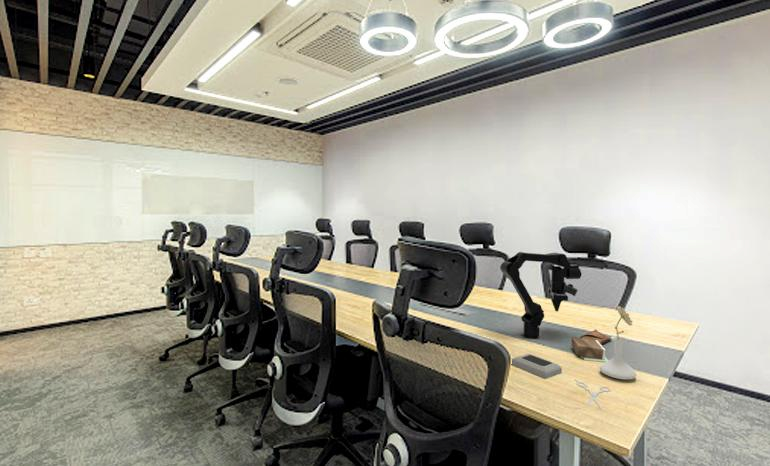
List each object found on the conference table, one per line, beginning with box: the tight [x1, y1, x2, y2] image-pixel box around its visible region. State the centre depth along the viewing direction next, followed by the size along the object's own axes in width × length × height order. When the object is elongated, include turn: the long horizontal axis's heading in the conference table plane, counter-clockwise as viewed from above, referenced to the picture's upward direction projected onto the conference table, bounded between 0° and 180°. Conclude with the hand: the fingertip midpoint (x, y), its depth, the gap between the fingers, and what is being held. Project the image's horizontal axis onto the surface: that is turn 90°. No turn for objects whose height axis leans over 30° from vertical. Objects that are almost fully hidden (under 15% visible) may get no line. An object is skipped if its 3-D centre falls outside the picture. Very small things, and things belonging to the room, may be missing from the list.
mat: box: [579, 356, 609, 363], centre depth 155 cm, size 10×16×1 cm, turn 164°
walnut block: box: [570, 336, 607, 360], centre depth 155 cm, size 4×12×10 cm
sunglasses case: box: [579, 329, 612, 346], centre depth 169 cm, size 18×7×7 cm
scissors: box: [574, 379, 612, 410], centre depth 119 cm, size 11×1×20 cm
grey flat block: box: [511, 353, 563, 380], centre depth 139 cm, size 10×4×15 cm
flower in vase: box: [598, 305, 637, 380], centre depth 134 cm, size 13×11×25 cm
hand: (556, 311), depth 178 cm, fingers closed
